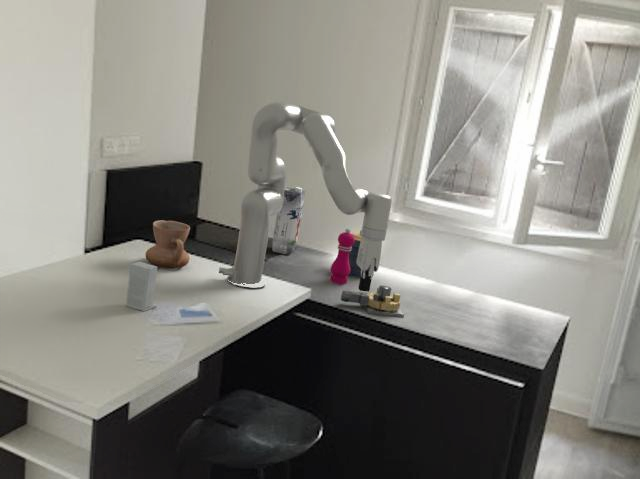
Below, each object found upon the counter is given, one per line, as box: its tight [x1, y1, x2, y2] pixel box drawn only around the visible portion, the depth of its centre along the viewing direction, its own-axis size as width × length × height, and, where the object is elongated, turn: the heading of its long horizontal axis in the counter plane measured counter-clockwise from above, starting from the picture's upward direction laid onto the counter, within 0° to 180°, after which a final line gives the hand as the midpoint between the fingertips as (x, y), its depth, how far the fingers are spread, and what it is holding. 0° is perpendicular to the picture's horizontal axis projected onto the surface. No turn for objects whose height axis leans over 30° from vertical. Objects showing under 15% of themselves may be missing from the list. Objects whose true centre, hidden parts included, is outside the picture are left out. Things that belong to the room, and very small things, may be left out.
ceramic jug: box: [145, 219, 191, 270], centre depth 231 cm, size 18×14×14 cm
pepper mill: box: [329, 227, 355, 285], centre depth 249 cm, size 7×7×20 cm
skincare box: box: [125, 261, 158, 312], centre depth 187 cm, size 6×4×12 cm
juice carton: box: [271, 186, 306, 256], centre depth 279 cm, size 9×10×27 cm
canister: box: [348, 229, 362, 279], centre depth 266 cm, size 13×13×18 cm
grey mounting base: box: [361, 284, 405, 318], centre depth 227 cm, size 12×12×8 cm
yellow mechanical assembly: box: [340, 287, 401, 311], centre depth 226 cm, size 19×11×4 cm, turn 100°
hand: (363, 290), depth 217 cm, fingers closed
